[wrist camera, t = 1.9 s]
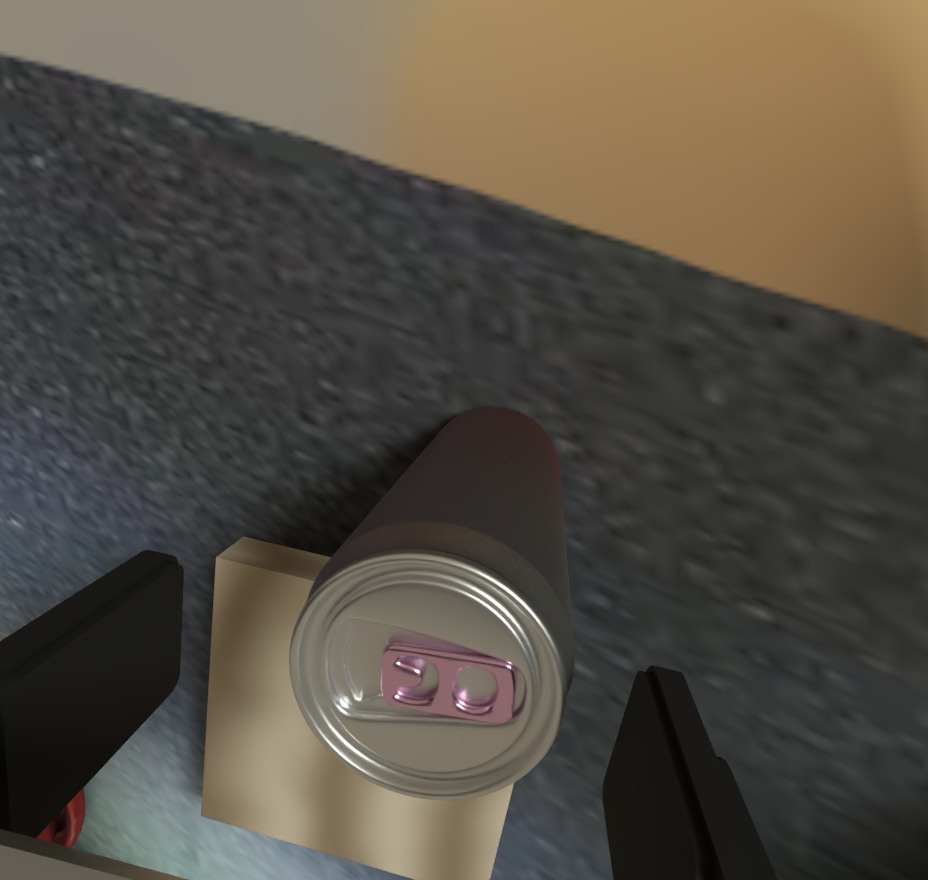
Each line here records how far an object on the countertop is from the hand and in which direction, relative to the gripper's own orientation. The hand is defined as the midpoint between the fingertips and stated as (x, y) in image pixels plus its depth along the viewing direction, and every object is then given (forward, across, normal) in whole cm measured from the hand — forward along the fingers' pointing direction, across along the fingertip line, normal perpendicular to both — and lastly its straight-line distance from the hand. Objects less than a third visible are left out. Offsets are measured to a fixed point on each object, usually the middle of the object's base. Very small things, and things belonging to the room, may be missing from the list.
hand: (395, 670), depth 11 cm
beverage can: (+15, -1, 0) cm, 15 cm away
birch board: (+15, +3, +15) cm, 21 cm away
